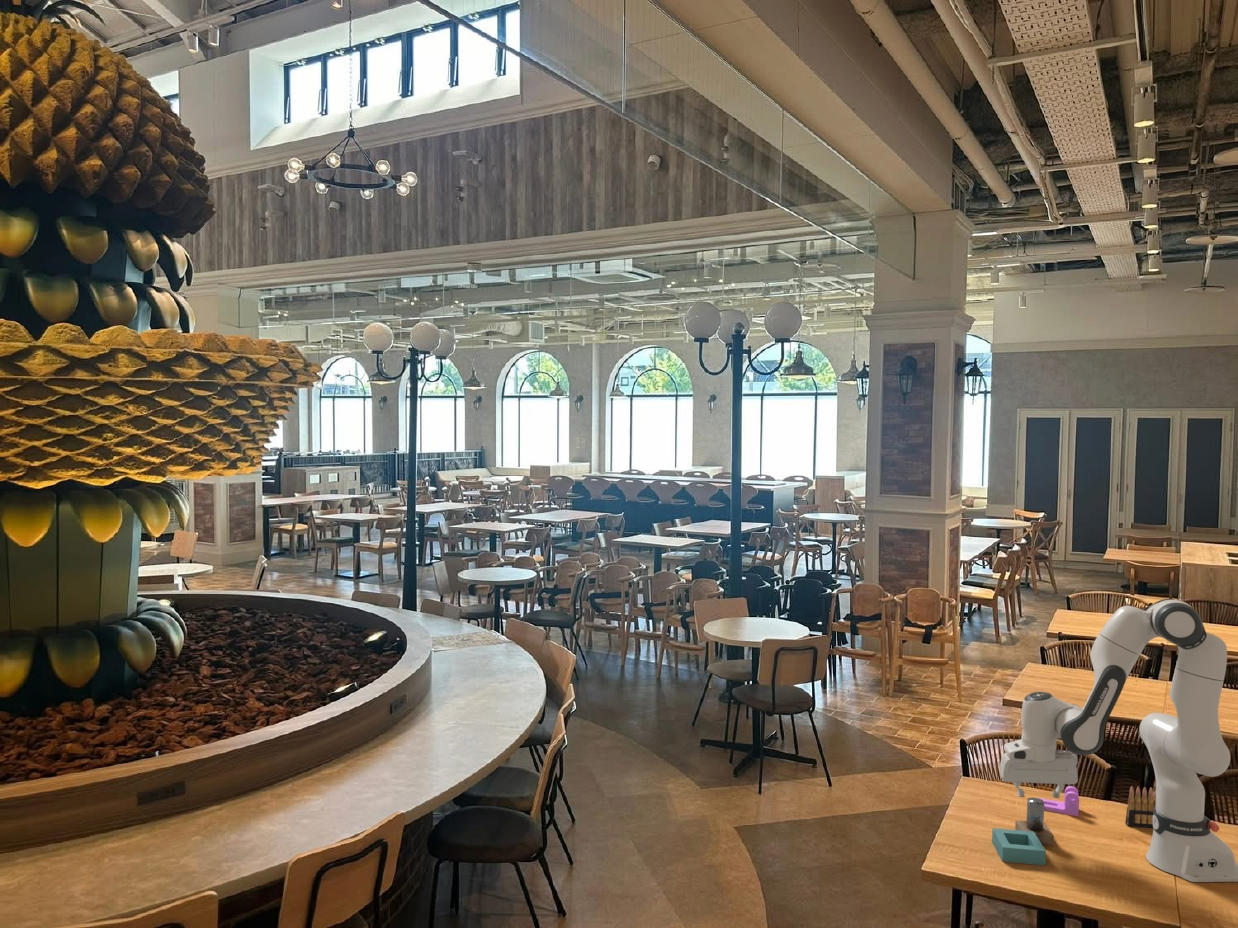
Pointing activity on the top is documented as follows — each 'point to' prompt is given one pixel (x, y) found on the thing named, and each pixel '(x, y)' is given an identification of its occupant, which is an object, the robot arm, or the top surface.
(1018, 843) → the hole block
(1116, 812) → the top surface
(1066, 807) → the bracket
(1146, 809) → the ammunition clip
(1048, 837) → the wooden block
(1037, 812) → the grey cylinder
